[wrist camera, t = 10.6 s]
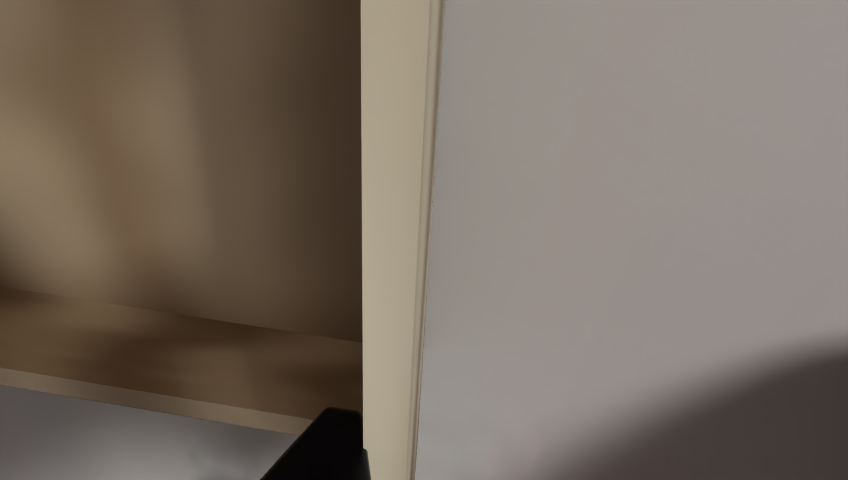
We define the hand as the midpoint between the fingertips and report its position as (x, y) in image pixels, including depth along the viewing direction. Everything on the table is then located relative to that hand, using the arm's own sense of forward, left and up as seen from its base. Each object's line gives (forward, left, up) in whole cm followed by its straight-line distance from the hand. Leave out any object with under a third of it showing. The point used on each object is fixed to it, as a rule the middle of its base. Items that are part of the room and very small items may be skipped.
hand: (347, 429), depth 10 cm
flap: (0, 0, -3) cm, 3 cm away
